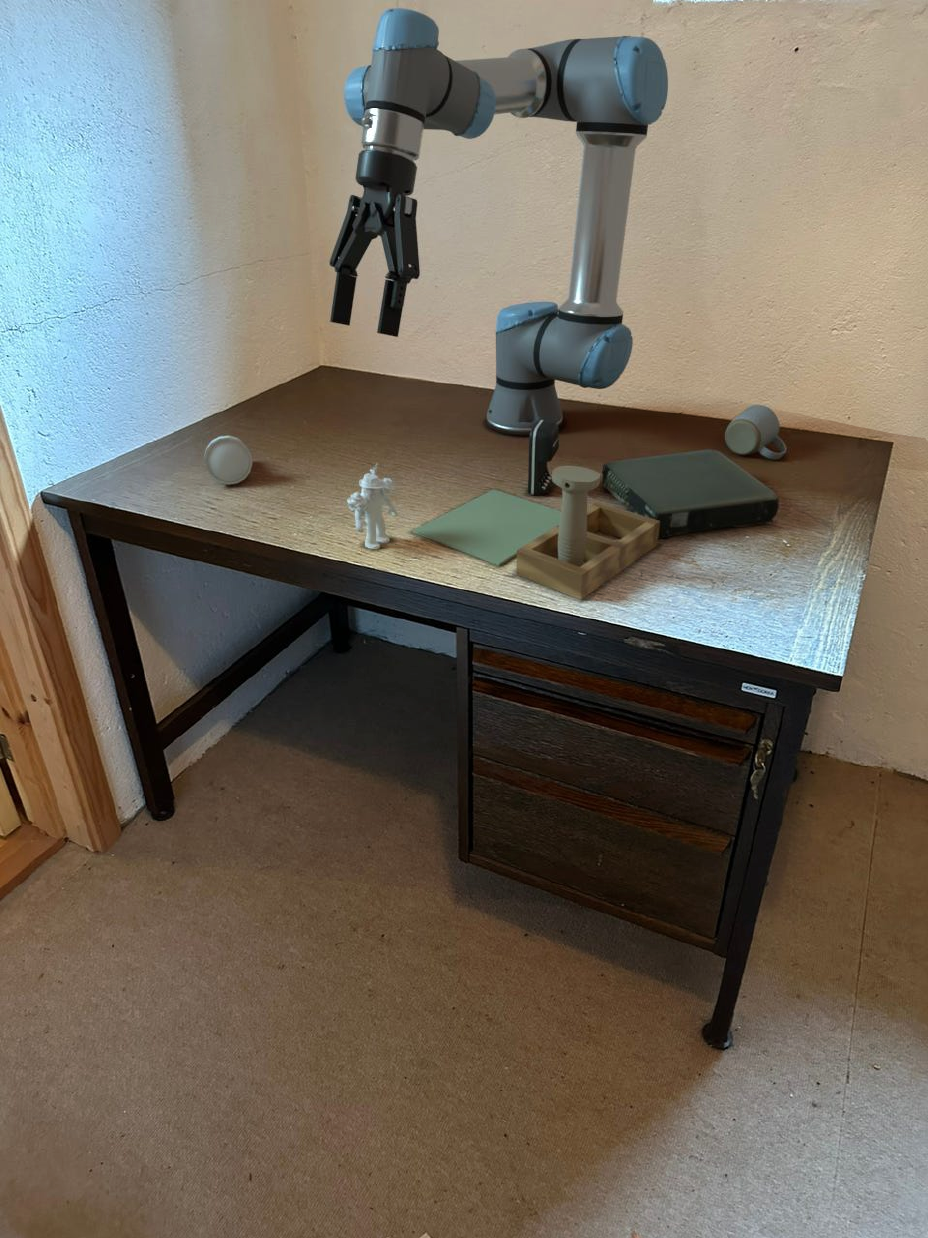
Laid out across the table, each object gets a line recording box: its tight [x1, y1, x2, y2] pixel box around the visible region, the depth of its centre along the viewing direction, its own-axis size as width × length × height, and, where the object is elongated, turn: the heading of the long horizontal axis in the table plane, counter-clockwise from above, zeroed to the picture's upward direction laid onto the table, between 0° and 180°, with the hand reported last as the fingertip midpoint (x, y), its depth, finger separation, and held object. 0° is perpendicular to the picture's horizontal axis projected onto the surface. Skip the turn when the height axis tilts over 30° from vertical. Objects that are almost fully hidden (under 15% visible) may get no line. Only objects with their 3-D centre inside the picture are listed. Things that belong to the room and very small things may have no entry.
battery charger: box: [527, 420, 560, 496], centre depth 143 cm, size 7×4×11 cm, turn 162°
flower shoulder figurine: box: [346, 461, 398, 550], centre depth 127 cm, size 9×4×12 cm, turn 144°
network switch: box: [601, 448, 780, 539], centre depth 138 cm, size 23×23×5 cm
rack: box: [515, 501, 660, 601], centre depth 124 cm, size 20×11×4 cm, turn 140°
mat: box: [412, 488, 561, 567], centre depth 134 cm, size 20×17×1 cm
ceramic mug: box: [724, 404, 788, 461], centre depth 156 cm, size 11×8×8 cm
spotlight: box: [203, 435, 253, 486], centre depth 152 cm, size 8×11×8 cm
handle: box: [551, 465, 601, 567], centre depth 118 cm, size 5×6×15 cm
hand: (362, 329), depth 115 cm, fingers open, 13 cm apart
